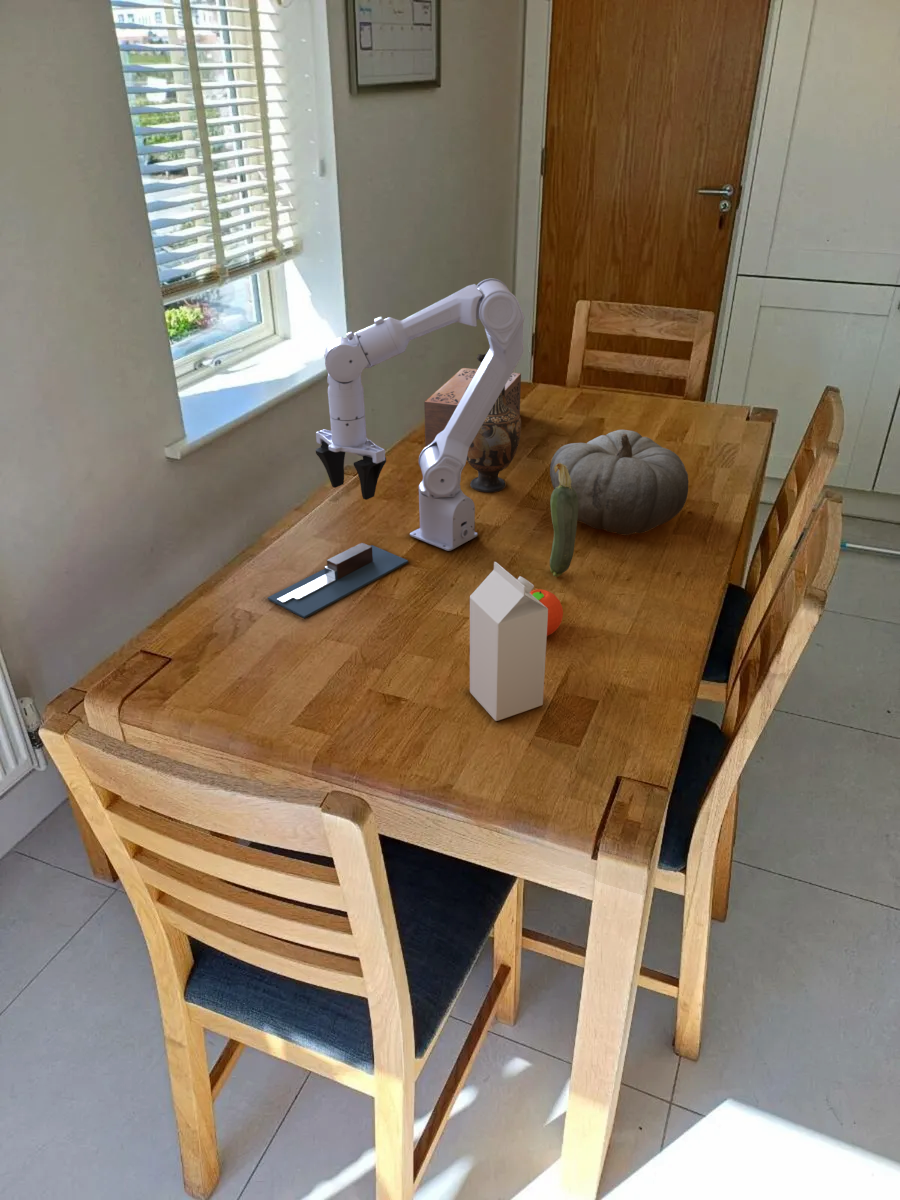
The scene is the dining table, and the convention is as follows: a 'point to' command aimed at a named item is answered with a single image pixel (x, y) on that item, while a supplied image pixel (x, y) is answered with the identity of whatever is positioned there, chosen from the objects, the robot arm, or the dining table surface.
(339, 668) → the dining table surface
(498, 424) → the vase
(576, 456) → the gourd
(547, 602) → the clementine
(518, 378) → the tissue box cover
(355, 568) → the knife
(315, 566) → the dining table surface
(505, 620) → the milk carton
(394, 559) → the mat
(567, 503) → the vegetable
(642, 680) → the dining table surface
